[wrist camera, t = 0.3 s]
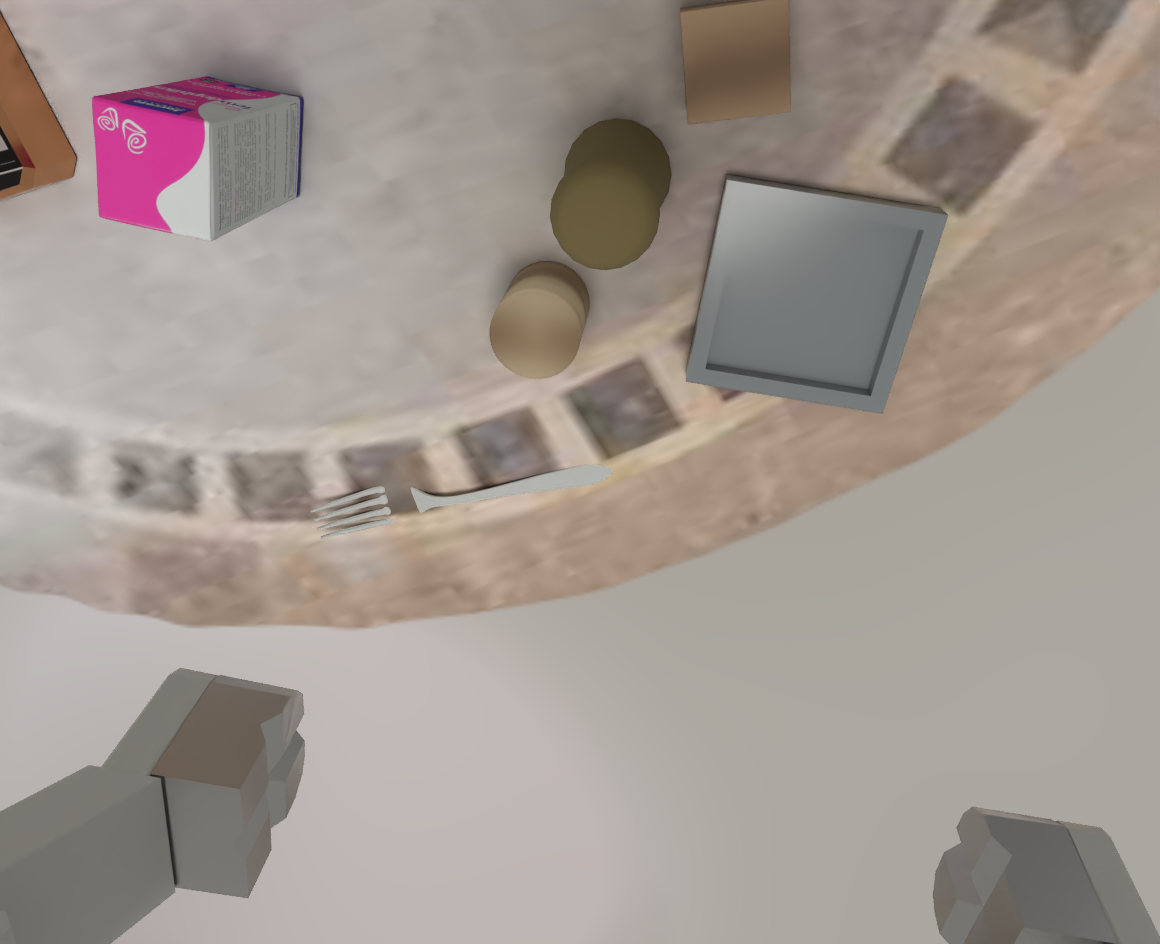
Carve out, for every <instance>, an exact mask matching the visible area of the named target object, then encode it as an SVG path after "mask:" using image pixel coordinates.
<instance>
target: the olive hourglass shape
mask: <svg viewBox="0 0 1160 944" xmlns="http://www.w3.org/2000/svg"><path fill="white" fill-rule="evenodd" d="M670 179H671V169H670V162H669V157H668V155H667V153H666V151H665V148H664V146H663V144H662V142H661V141H660V140H659V139H658V138H657V137H656V136H655V135H654V134H653V133H652V132H651V131H650V130H649V129H648V128H646V127H644V126H642V125H640V124H638V123H636V122H634V121H630V120H623V119H612V120H607V121H601V122H598V123H597V124H595V125H593V126H591V127H590V128H588V129H586V130H584V132H583V133H582V134H581V135H580V136H579V137H578V138H577V139H576V141H575V142H574V143H573V144H572V147H571V149H570V151H569V154H568V156H567V158H566V164H565V173H564V177H563V179H562V180H561V181H560V182H559V184H558V186H557V189H556V191H555V193H554V195H553V198H552V202H551V212H550V218H551V223H552V228H553V233H554V235H555V237H556V238H557V240H558V242H559V244H560V246H561V247H562V249H563V250H564V251H565V252H566V253H567V254H568V255H569V256H570V257H571V258H572V259H573V260H574V261H576V262H578V263H580V264H582V265H584V266H586V267H588V268H593V269H600V270H609V269H615V268H621V267H623V266H625V265H627V264H629V263H631V262H633V261H635V260H637V259H638V258H639V257H640V256H641V255H642V254H643V253H644V252H645V251H646V250H647V249H648V248H649V247H650V245H651V243H652V241H653V239H654V237H655V235H656V233H657V229H658V223H659V216H660V210H659V208H660V207H661V205H662V203H663V201H664V199H665V197H666V195H667V193H668V191H669V185H670Z"/></svg>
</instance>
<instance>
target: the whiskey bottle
mask: <svg viewBox="0 0 1160 944" xmlns="http://www.w3.org/2000/svg"><path fill="white" fill-rule="evenodd" d="M75 163H76V156H75V154H74V152H73V150H72V148H71V146H70V145H69V143H68V141H67V139H66V137H65V135H64V133H63V131H62V129H61V127H60V126H59V124H58V122H57V120H56V118H55V116H54V114H53V112H52V110H51V108H50V107H49V105H48V103H47V101H46V99H45V97H44V95H43V93H42V91H41V90H40V88H39V86H38V84H37V82H36V80H35V78H34V76H33V74H32V72H31V71H30V69H29V67H28V65H27V63H26V61H25V59H24V57H23V55H22V53H21V52H20V50H19V48H18V46H17V44H16V42H15V40H14V38H13V36H12V35H11V33H10V31H9V29H8V27H7V25H6V23H5V21H4V19H3V17H2V16H1V14H0V201H3V200H6V199H9V198H12V197H15V196H18V195H21V194H24V193H27V192H30V191H33V190H36V189H39V188H42V187H45V186H48V185H51V184H54V183H57V182H60V181H63V180H66V179H69V178H72V177H73V173H74V168H75Z"/></svg>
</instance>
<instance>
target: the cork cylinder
mask: <svg viewBox="0 0 1160 944" xmlns="http://www.w3.org/2000/svg"><path fill="white" fill-rule="evenodd" d="M589 304H590V303H589V294H588V291H587V288H586V286H585V284H584V282H583V281H582V279H581V278H580V277H579V276H578V274H577V273H575V272H574V271H573V270H572V269H570V268H569V267H567V266H565V265H563V264H560V263H556V262H549V261H544V262H537V263H534V264H531V265H529V266H527V267H525V268H524V269H522V270H521V271H520V272H519V273H518V274H517V275H516V276H515V278H514V279H513V281H512V283H511V285H510V286H509V288H508V290H507V292H506V294H505V296H504V297H503V299H502V301H501V303H500V305H499V307H498V308H497V310H496V312H495V314H494V316H493V318H492V321H491V325H490V341H491V345H492V348H493V351H494V353H495V355H496V356H497V358H498V359H499V361H500V362H501V363H502V364H503V365H504V366H505V367H506V368H508V369H509V370H510V371H512V372H514V373H516V374H518V375H520V376H523V377H527V378H533V379H542V378H548V377H552V376H554V375H557V374H559V373H560V372H562V371H563V370H565V369H566V368H567V367H568V366H569V365H570V364H571V362H572V361H573V360H574V358H575V356H576V354H577V351H578V348H579V344H580V341H581V337H582V334H583V330H584V326H585V323H586V319H587V316H588V312H589Z"/></svg>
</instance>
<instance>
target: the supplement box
mask: <svg viewBox="0 0 1160 944" xmlns="http://www.w3.org/2000/svg"><path fill="white" fill-rule="evenodd" d="M92 110H93V124H94V135H95V147H96V164H97V185H98V207H99V216H100V217H102V218H105V219H109V220H113V221H118V222H122V223H126V224H131V225H136V226H140V227H144V228H149V229H153V230H158V231H163V232H168V233H172V234H177V235H182V236H187V237H192V238H196V239H201V240H206V241H213V240H215V239H217V238H219V237H221V236H223V235H225V234H226V233H228V232H230V231H232V230H234V229H236V228H238V227H240V226H242V225H244V224H246V223H248V222H250V221H251V220H253V219H255V218H257V217H259V216H261V215H263V214H265V213H267V212H269V211H271V210H272V209H274V208H276V207H278V206H280V205H282V204H284V203H286V202H288V201H290V200H292V199H294V198H296V197H299V191H300V167H301V144H302V141H301V140H302V124H303V99H302V97H300V96H295V95H288V94H281V93H276V92H270V91H266V90H261V89H257V88H252V87H248V86H243V85H238V84H234V83H230V82H225V81H222V80H219V79H214V78H211V77H201V78H196V79H190V80H184V81H179V82H173V83H168V84H162V85H156V86H151V87H146V88H140V89H134V90H128V91H123V92H117V93H112V94H106V95H100V96H94V97H92Z"/></svg>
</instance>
